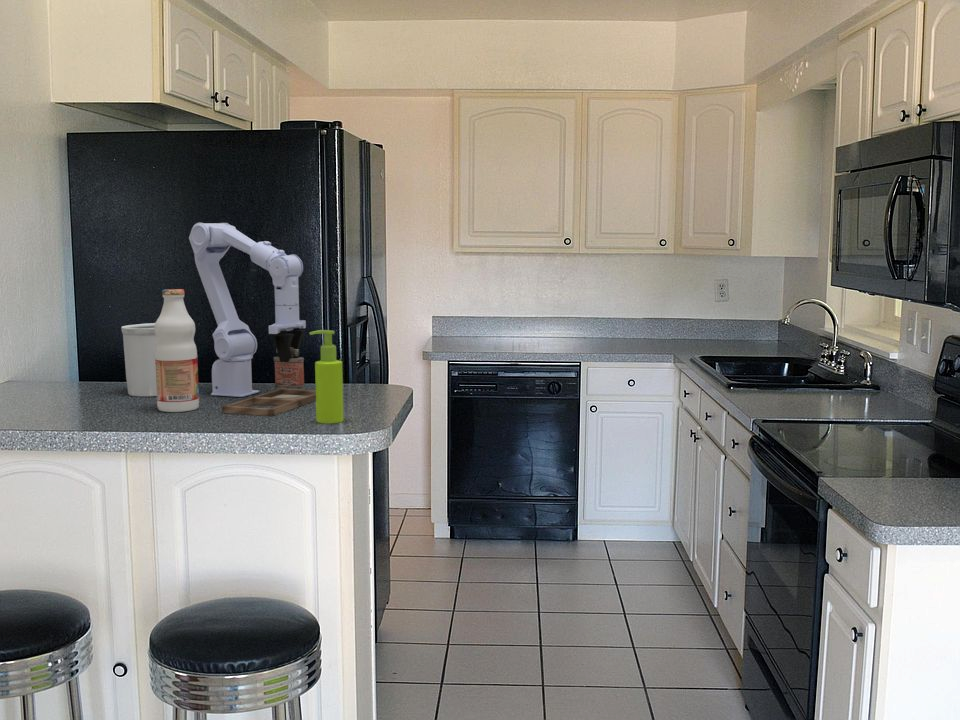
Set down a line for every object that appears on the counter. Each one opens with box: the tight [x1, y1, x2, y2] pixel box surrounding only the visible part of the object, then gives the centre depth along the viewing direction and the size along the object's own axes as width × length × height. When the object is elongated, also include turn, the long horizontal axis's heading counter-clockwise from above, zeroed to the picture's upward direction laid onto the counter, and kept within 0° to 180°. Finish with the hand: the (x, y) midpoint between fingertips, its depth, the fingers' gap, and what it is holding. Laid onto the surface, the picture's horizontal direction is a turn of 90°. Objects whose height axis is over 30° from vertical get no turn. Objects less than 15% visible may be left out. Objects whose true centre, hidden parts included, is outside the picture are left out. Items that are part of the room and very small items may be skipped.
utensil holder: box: [120, 322, 157, 398], centre depth 253 cm, size 15×15×18 cm
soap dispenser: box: [308, 329, 344, 424], centre depth 215 cm, size 6×7×20 cm
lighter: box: [273, 347, 306, 390], centre depth 242 cm, size 8×3×10 cm, turn 69°
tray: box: [221, 388, 316, 417], centre depth 236 cm, size 13×26×2 cm, turn 161°
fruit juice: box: [154, 288, 200, 413], centre depth 229 cm, size 9×9×28 cm
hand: (288, 360), depth 241 cm, fingers closed on lighter, 3 cm apart
